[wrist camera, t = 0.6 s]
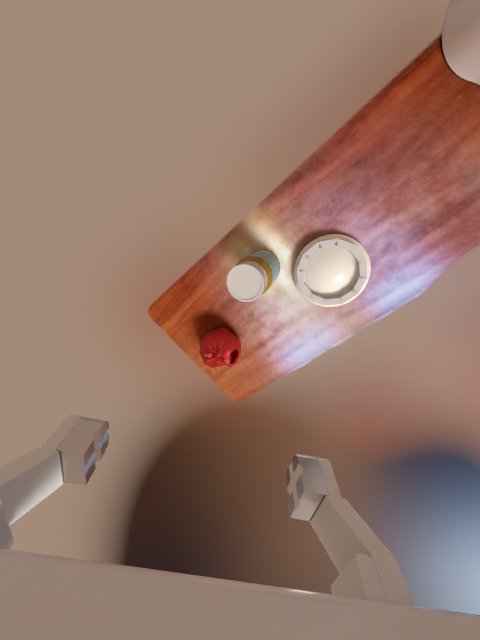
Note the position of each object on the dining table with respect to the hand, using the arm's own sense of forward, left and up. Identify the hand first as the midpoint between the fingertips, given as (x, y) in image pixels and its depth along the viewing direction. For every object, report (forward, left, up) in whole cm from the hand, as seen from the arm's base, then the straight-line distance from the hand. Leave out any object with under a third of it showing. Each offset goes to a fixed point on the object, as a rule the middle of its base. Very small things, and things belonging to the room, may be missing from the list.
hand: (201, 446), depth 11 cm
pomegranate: (+20, +16, -46) cm, 52 cm away
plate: (-6, +2, -46) cm, 46 cm away
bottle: (+7, -1, -46) cm, 46 cm away
